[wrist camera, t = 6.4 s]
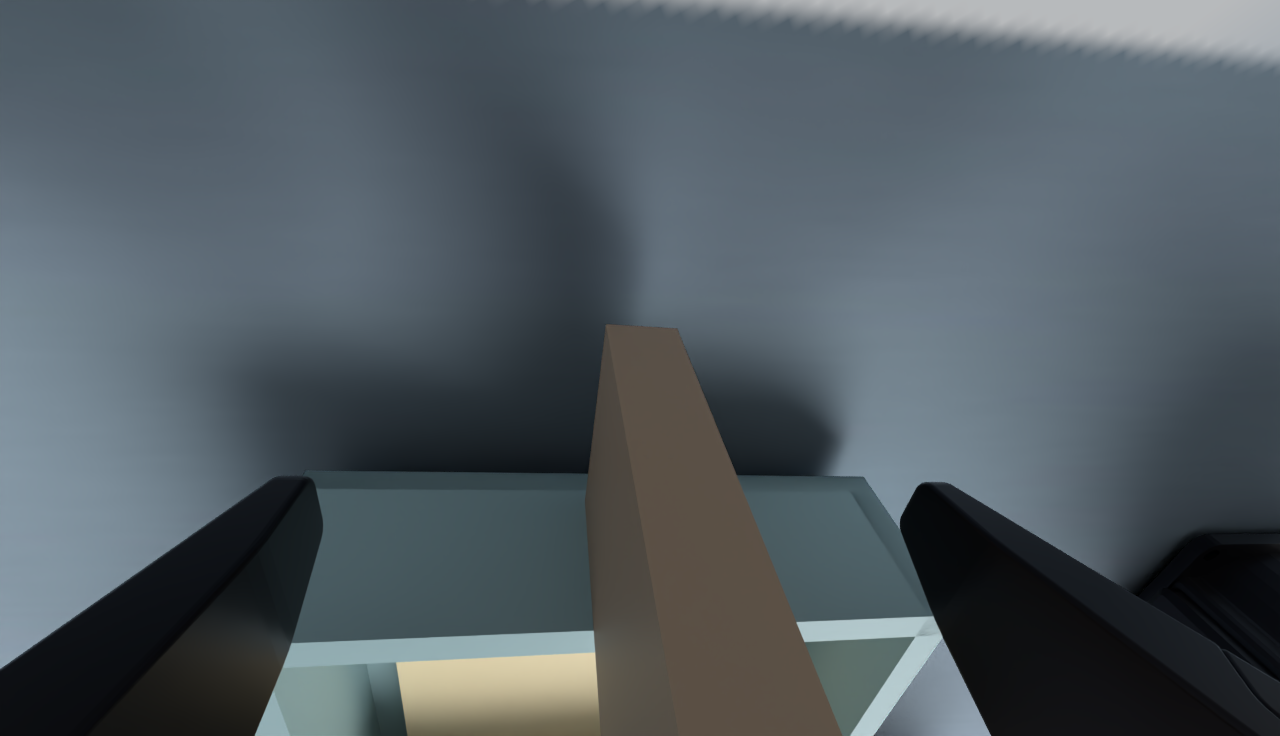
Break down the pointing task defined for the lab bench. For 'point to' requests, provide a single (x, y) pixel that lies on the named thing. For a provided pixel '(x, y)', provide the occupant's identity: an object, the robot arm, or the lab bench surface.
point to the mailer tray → (606, 589)
